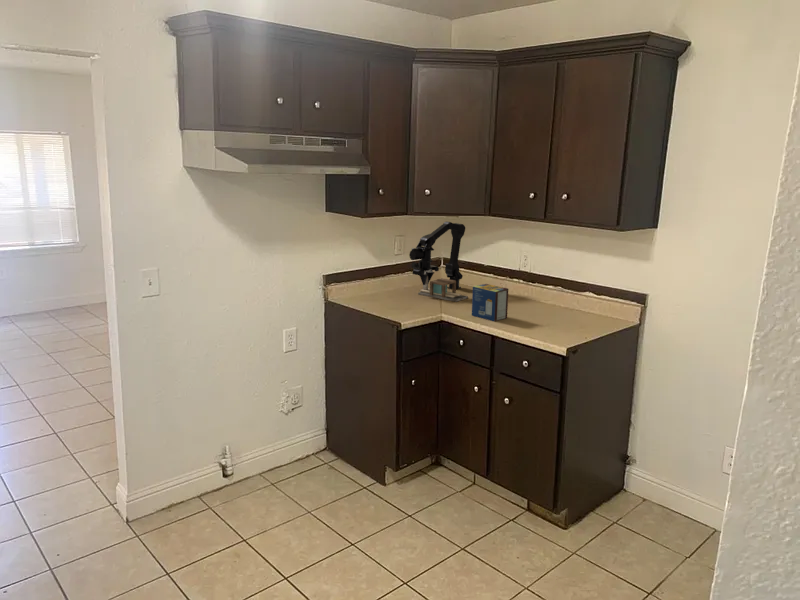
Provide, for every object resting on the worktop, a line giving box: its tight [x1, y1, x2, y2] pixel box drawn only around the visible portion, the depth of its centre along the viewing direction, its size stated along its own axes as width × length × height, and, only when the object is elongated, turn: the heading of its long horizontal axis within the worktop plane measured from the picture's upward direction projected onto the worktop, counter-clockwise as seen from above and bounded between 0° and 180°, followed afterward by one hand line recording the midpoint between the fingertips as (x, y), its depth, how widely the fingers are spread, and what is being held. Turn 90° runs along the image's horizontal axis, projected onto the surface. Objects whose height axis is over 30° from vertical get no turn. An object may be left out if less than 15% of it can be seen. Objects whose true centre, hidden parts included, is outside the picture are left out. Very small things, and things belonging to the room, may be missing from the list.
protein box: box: [471, 283, 509, 322], centre depth 318 cm, size 10×15×16 cm
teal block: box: [433, 284, 448, 294], centre depth 362 cm, size 6×6×5 cm
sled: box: [419, 276, 462, 298], centre depth 362 cm, size 8×24×9 cm, turn 51°
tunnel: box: [417, 277, 469, 302], centre depth 361 cm, size 12×27×9 cm, turn 51°
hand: (425, 284), depth 369 cm, fingers closed on sled, 3 cm apart
